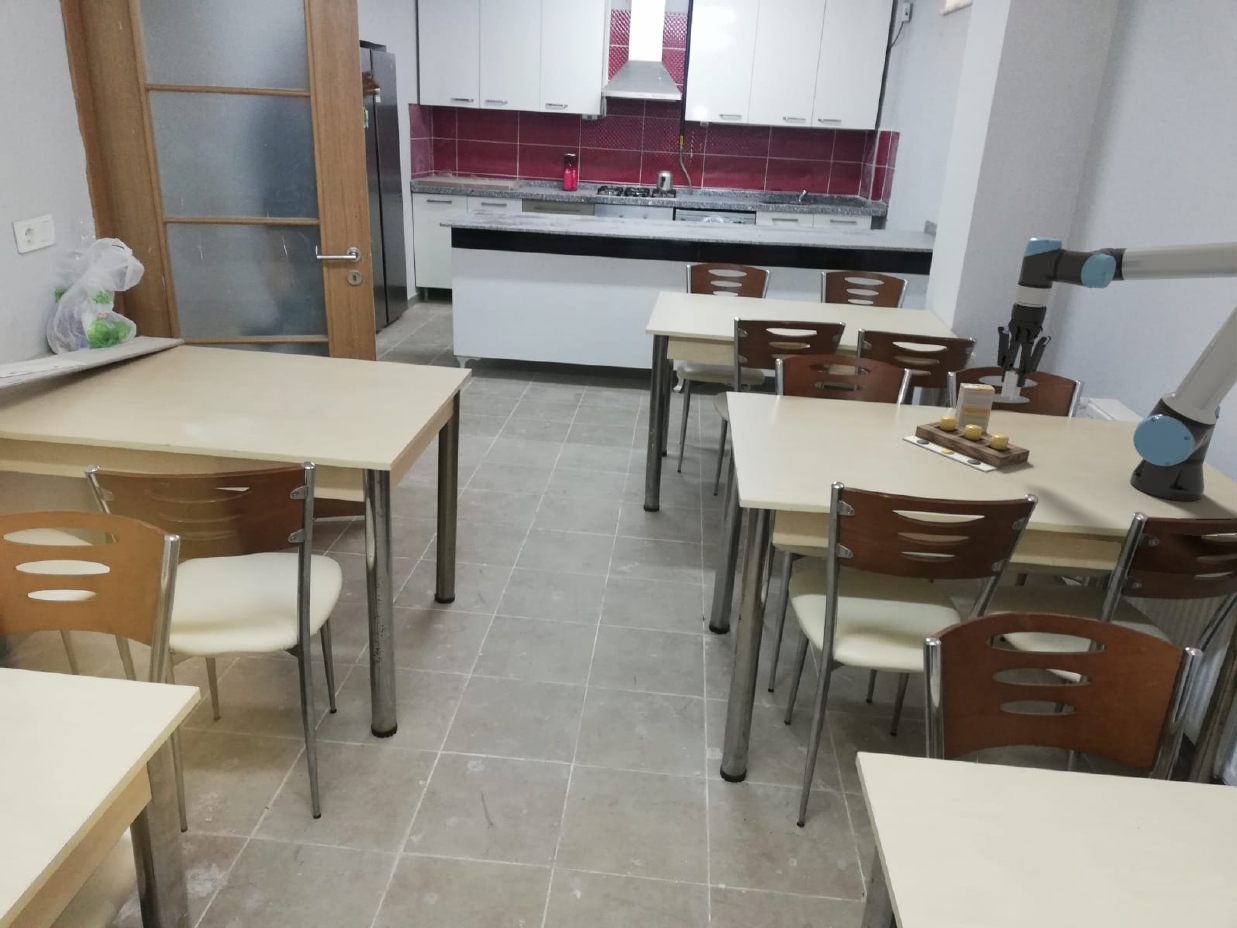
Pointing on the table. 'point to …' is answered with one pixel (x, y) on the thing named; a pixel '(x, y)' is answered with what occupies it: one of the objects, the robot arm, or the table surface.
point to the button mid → (972, 432)
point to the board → (972, 445)
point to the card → (950, 453)
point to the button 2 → (999, 441)
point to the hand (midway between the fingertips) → (1009, 397)
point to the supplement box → (974, 405)
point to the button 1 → (947, 423)
